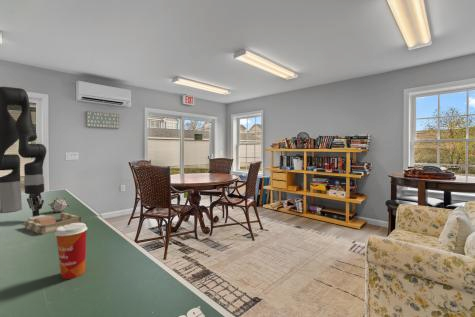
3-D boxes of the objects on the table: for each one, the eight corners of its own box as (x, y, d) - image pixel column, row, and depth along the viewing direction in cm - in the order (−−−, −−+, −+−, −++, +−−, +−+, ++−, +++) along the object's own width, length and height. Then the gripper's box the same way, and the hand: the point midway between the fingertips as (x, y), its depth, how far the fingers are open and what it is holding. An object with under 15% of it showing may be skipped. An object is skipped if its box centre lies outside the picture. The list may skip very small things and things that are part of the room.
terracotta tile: (34, 225, 112) (34, 218, 112) (49, 221, 117) (49, 215, 117) (40, 227, 109) (40, 220, 109) (55, 223, 114) (55, 217, 114)
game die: (63, 217, 136) (75, 203, 138) (51, 216, 128) (64, 201, 130) (54, 209, 138) (65, 194, 140) (41, 207, 130) (53, 192, 132)
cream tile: (28, 223, 115) (27, 217, 115) (43, 220, 120) (42, 214, 120) (33, 225, 112) (33, 219, 112) (48, 222, 117) (48, 216, 117)
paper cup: (51, 277, 66) (48, 228, 66) (80, 264, 73) (78, 220, 72) (66, 284, 63) (63, 233, 62) (95, 270, 69) (93, 224, 69)
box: (24, 228, 107) (24, 220, 107) (63, 219, 121) (62, 212, 121) (42, 234, 99) (42, 226, 99) (81, 224, 113) (81, 216, 112)
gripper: (19, 183, 118) (20, 217, 118) (30, 185, 111) (32, 221, 112) (37, 181, 124) (39, 213, 125) (49, 183, 118) (51, 217, 119)
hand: (36, 217), depth 118 cm, fingers closed
